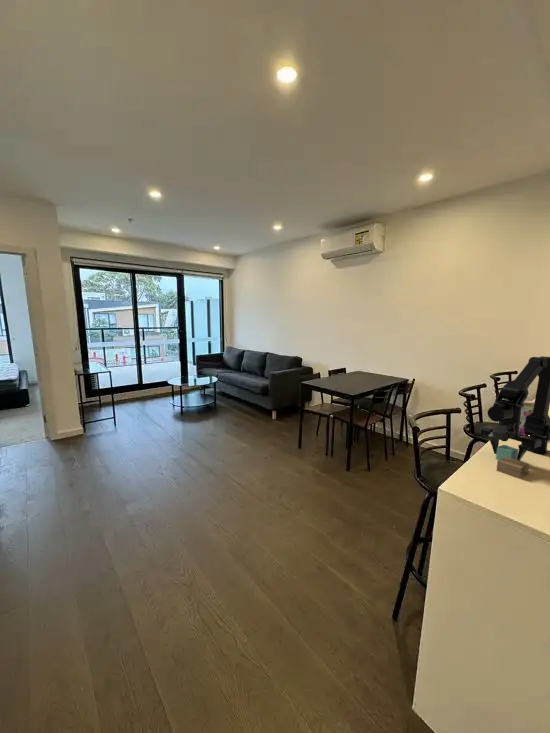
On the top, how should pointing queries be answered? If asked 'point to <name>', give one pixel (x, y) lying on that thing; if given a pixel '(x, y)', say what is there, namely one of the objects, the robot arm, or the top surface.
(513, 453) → the teal cube
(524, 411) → the candy bar box
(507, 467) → the walnut block
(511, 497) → the top surface
